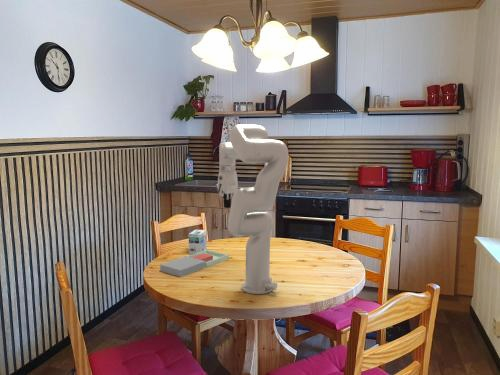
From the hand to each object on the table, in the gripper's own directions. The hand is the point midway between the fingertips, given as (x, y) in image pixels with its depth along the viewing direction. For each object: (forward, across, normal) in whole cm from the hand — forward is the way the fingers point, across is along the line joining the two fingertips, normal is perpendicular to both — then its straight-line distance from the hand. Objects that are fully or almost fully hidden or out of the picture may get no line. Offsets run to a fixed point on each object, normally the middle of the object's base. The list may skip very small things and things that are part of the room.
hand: (227, 207), depth 183 cm
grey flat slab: (+27, -19, +10) cm, 35 cm away
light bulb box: (+27, +6, +25) cm, 38 cm away
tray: (+27, -3, +11) cm, 29 cm away
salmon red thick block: (+27, -6, +11) cm, 29 cm away
